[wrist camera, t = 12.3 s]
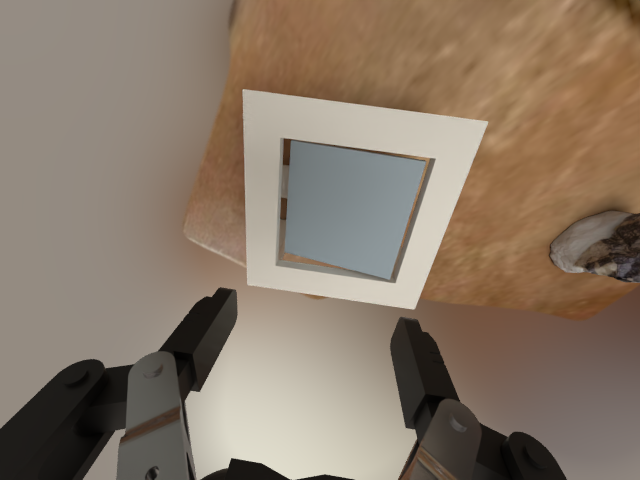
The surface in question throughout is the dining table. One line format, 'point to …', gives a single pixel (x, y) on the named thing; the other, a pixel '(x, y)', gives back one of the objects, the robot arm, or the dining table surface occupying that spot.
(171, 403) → the robot arm
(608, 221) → the stone
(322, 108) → the stand
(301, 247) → the trapdoor
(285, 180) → the white rounded cylinder
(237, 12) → the dining table surface
